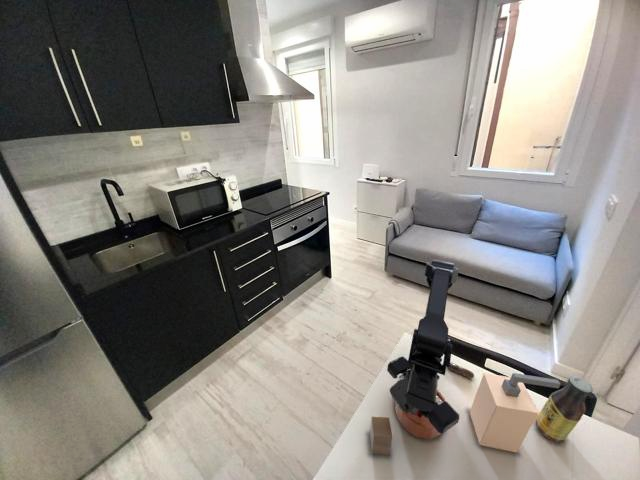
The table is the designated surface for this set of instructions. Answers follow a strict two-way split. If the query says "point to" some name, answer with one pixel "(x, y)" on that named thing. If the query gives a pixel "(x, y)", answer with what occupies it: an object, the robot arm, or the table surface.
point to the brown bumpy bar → (461, 370)
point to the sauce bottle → (564, 409)
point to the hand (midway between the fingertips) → (415, 410)
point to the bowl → (418, 423)
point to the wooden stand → (380, 435)
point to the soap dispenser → (505, 409)
